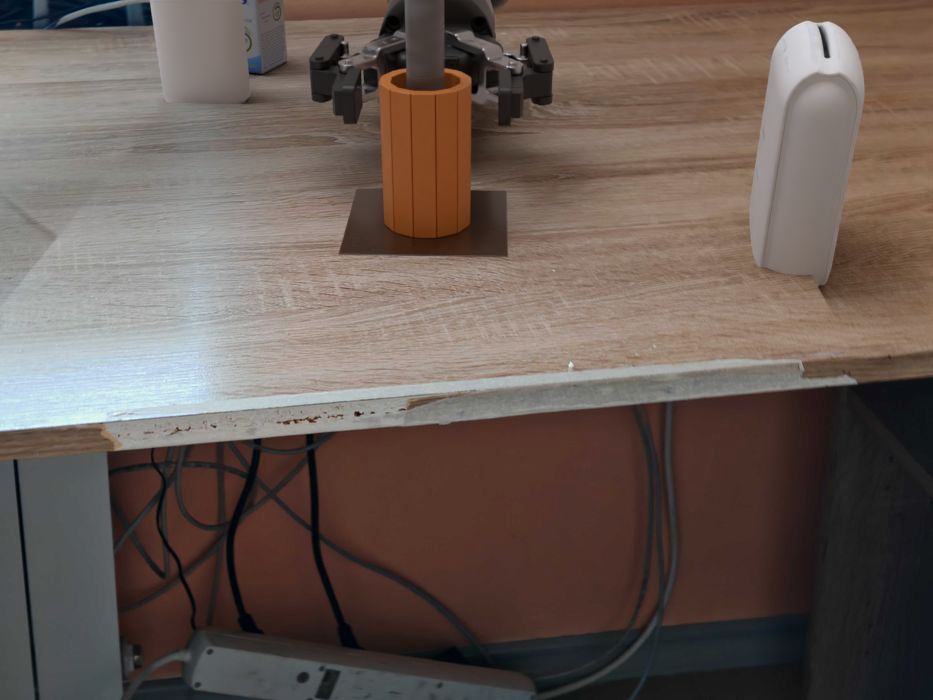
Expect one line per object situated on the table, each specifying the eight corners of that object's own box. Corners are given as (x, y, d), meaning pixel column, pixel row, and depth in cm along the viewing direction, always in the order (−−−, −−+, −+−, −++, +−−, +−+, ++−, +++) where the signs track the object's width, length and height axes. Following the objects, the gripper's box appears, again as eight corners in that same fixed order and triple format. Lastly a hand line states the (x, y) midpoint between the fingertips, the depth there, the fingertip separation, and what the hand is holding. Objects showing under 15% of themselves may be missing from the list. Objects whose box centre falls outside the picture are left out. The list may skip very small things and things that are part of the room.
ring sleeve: (381, 237, 59) (375, 93, 55) (388, 202, 63) (383, 66, 59) (469, 238, 59) (470, 94, 55) (470, 203, 63) (472, 67, 59)
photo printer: (743, 212, 65) (774, 1, 59) (817, 218, 64) (857, 5, 58) (747, 291, 56) (784, 53, 50) (833, 298, 56) (882, 59, 49)
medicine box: (179, 65, 90) (165, -43, 86) (208, 51, 94) (196, -54, 89) (263, 75, 88) (253, -36, 83) (289, 61, 92) (281, -46, 87)
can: (191, 121, 78) (168, -53, 72) (149, 99, 83) (124, -67, 76) (267, 102, 82) (252, -64, 76) (223, 82, 86) (205, -77, 80)
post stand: (339, 274, 58) (318, -62, 49) (357, 206, 65) (342, -94, 57) (507, 276, 58) (517, -60, 49) (506, 208, 65) (514, -92, 56)
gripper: (330, -29, 71) (291, 37, 57) (547, -26, 71) (561, 40, 57) (337, 84, 75) (301, 171, 61) (542, 86, 75) (554, 174, 61)
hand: (427, 108), depth 59 cm, fingers open, 8 cm apart
